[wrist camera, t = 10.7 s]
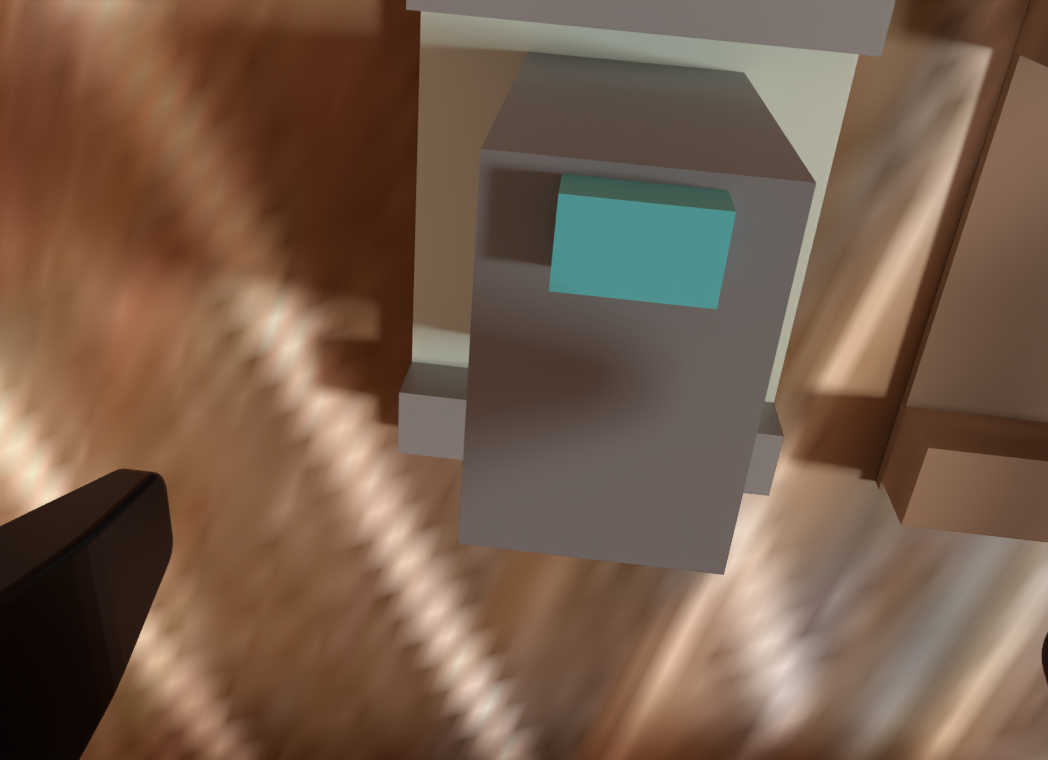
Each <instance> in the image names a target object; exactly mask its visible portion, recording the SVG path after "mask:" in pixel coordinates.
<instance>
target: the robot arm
mask: <svg viewBox="0 0 1048 760" xmlns="http://www.w3.org/2000/svg"><path fill="white" fill-rule="evenodd" d="M172 548H173V533H172V526H171V518H170V510H169V503H168V495H167V488H166V484H165V481H164V479H163V477H162V476H161V475H159V474H158V473H156V472H150V471H141V470H133V469H118V470H116V471H114V472H111V473H109V474H107V475H105V476H103V477H101V478H99V479H97V480H95V481H93V482H91V483H89V484H87V485H84V486H82V487H80V488H78V489H76V490H74V491H72V492H70V493H68V494H66V495H64V496H62V497H60V498H58V499H55V500H53V501H51V502H49V503H47V504H45V505H43V506H41V507H39V508H37V509H35V510H33V511H31V512H28V513H26V514H24V515H22V516H20V517H18V518H16V519H14V520H12V521H10V522H8V523H6V524H4V525H1V526H0V760H79V759H80V757H81V756H82V754H83V752H84V750H85V748H86V746H87V745H88V743H89V741H90V739H91V737H92V735H93V734H94V732H95V730H96V728H97V726H98V724H99V723H100V721H101V719H102V717H103V715H104V713H105V711H106V710H107V708H108V706H109V704H110V702H111V700H112V698H113V696H114V694H115V692H116V690H117V687H118V685H119V683H120V681H121V678H122V676H123V674H124V672H125V669H126V667H127V664H128V662H129V659H130V657H131V654H132V652H133V650H134V647H135V645H136V642H137V640H138V637H139V635H140V632H141V630H142V627H143V625H144V623H145V620H146V618H147V615H148V613H149V610H150V608H151V605H152V603H153V601H154V598H155V596H156V593H157V591H158V588H159V586H160V583H161V581H162V578H163V576H164V574H165V571H166V569H167V566H168V564H169V561H170V558H171V554H172ZM1042 665H1043V670H1044V674H1045V677H1046V681H1047V685H1048V633H1047V635H1046V637H1045V640H1044V643H1043V647H1042Z"/></svg>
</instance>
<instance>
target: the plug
mask: <svg viewBox="0 0 1048 760" xmlns="http://www.w3.org/2000/svg"><path fill="white" fill-rule="evenodd" d="M815 187H816V182H815V180H814V178H813V177H812V175H811V174H810V172H809V171H808V169H807V168H806V166H805V165H804V163H803V162H802V160H801V159H800V157H799V155H798V154H797V152H796V151H795V149H794V148H793V146H792V145H791V143H790V142H789V140H788V139H787V137H786V136H785V134H784V133H783V131H782V129H781V128H780V126H779V125H778V123H777V122H776V120H775V119H774V117H773V116H772V114H771V113H770V111H769V110H768V108H767V107H766V105H765V103H764V102H763V100H762V99H761V97H760V96H759V94H758V93H757V91H756V90H755V88H754V87H753V85H752V84H751V82H750V80H749V79H748V77H747V76H746V74H745V73H744V72H733V71H723V70H713V69H703V68H692V67H682V66H672V65H662V64H651V63H641V62H631V61H621V60H611V59H600V58H590V57H580V56H570V55H559V54H549V53H539V52H529V51H528V53H527V55H526V58H525V60H524V62H523V64H522V66H521V68H520V70H519V72H518V74H517V76H516V78H515V80H514V82H513V84H512V86H511V88H510V90H509V92H508V94H507V96H506V98H505V100H504V102H503V104H502V106H501V108H500V110H499V112H498V114H497V116H496V118H495V121H494V123H493V125H492V127H491V129H490V131H489V133H488V135H487V137H486V139H485V141H484V143H483V145H482V147H481V151H480V169H479V187H478V204H477V222H476V240H475V257H474V275H473V293H472V310H471V328H470V346H469V363H468V381H467V399H466V416H465V434H464V452H463V469H462V487H461V505H460V522H459V540H458V543H459V544H467V545H476V546H484V547H493V548H501V549H510V550H518V551H527V552H535V553H544V554H552V555H560V556H569V557H577V558H586V559H594V560H603V561H611V562H620V563H628V564H637V565H645V566H654V567H662V568H671V569H679V570H688V571H696V572H704V573H713V574H721V575H724V572H725V567H726V563H727V559H728V555H729V550H730V546H731V542H732V538H733V534H734V529H735V525H736V521H737V517H738V512H739V508H740V504H741V500H742V495H743V491H744V487H745V483H746V479H747V474H748V470H749V466H750V462H751V457H752V453H753V449H754V445H755V440H756V436H757V432H758V428H759V424H760V419H761V415H762V411H763V407H764V402H765V398H766V394H767V390H768V385H769V381H770V377H771V373H772V369H773V364H774V360H775V356H776V352H777V347H778V343H779V339H780V335H781V330H782V326H783V322H784V318H785V314H786V309H787V305H788V301H789V297H790V292H791V288H792V284H793V280H794V275H795V271H796V267H797V263H798V259H799V254H800V250H801V246H802V242H803V237H804V233H805V229H806V225H807V221H808V216H809V212H810V208H811V204H812V199H813V195H814V191H815Z"/></svg>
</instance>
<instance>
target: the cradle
mask: <svg viewBox="0 0 1048 760" xmlns="http://www.w3.org/2000/svg"><path fill="white" fill-rule="evenodd" d="M894 4H895V0H406V10H415V11H421V28H420V67H419V106H418V144H417V183H416V222H415V261H414V300H413V339H412V363H411V365H410V367H409V370H408V372H407V375H406V377H405V379H404V382H403V384H402V387H401V389H400V391H399V422H398V453H406V454H415V455H423V456H432V457H441V458H449V459H458V460H463V452H464V434H465V416H466V399H467V381H468V363H469V346H470V328H471V310H472V293H473V275H474V257H475V240H476V222H477V204H478V187H479V169H480V151H481V147H482V145H483V143H484V141H485V139H486V137H487V135H488V133H489V131H490V129H491V127H492V125H493V123H494V121H495V118H496V116H497V114H498V112H499V110H500V108H501V106H502V104H503V102H504V100H505V98H506V96H507V94H508V92H509V90H510V88H511V86H512V84H513V82H514V80H515V78H516V76H517V74H518V72H519V70H520V68H521V66H522V64H523V62H524V60H525V58H526V55H527V53H528V51H529V52H539V53H549V54H559V55H570V56H580V57H590V58H600V59H611V60H621V61H631V62H641V63H651V64H662V65H672V66H682V67H692V68H703V69H713V70H723V71H733V72H744V73H745V74H746V76H747V77H748V79H749V80H750V82H751V84H752V85H753V87H754V88H755V90H756V91H757V93H758V94H759V96H760V97H761V99H762V100H763V102H764V103H765V105H766V107H767V108H768V110H769V111H770V113H771V114H772V116H773V117H774V119H775V120H776V122H777V123H778V125H779V126H780V128H781V129H782V131H783V133H784V134H785V136H786V137H787V139H788V140H789V142H790V143H791V145H792V146H793V148H794V149H795V151H796V152H797V154H798V155H799V157H800V159H801V160H802V162H803V163H804V165H805V166H806V168H807V169H808V171H809V172H810V174H811V175H812V177H813V178H814V180H815V182H816V187H815V191H814V195H813V199H812V204H811V208H810V212H809V216H808V221H807V225H806V229H805V233H804V237H803V242H802V246H801V250H800V254H799V259H798V263H797V267H796V271H795V275H794V280H793V284H792V288H791V292H790V297H789V301H788V305H787V309H786V314H785V318H784V322H783V326H782V330H781V335H780V339H779V343H778V347H777V352H776V356H775V360H774V364H773V369H772V373H771V377H770V381H769V385H768V390H767V394H766V398H765V402H764V407H763V411H762V415H761V419H760V424H759V428H758V432H757V436H756V440H755V445H754V449H753V453H752V457H751V462H750V466H749V470H748V474H747V479H746V483H745V487H744V491H743V493H750V494H758V495H767V496H769V493H770V489H771V485H772V481H773V477H774V473H775V469H776V465H777V461H778V457H779V454H780V450H781V446H782V442H783V438H784V435H783V432H782V428H781V425H780V422H779V418H778V415H777V412H776V409H775V405H774V399H775V395H776V391H777V387H778V383H779V379H780V375H781V371H782V367H783V362H784V358H785V354H786V350H787V346H788V342H789V338H790V334H791V330H792V326H793V322H794V317H795V313H796V309H797V305H798V301H799V297H800V293H801V289H802V285H803V281H804V277H805V273H806V268H807V264H808V260H809V256H810V252H811V248H812V244H813V240H814V236H815V232H816V228H817V223H818V219H819V215H820V211H821V207H822V203H823V199H824V195H825V191H826V187H827V183H828V178H829V174H830V170H831V166H832V162H833V158H834V154H835V150H836V146H837V142H838V138H839V134H840V129H841V125H842V121H843V117H844V113H845V109H846V105H847V101H848V97H849V93H850V89H851V84H852V80H853V76H854V72H855V68H856V64H857V60H858V56H859V54H860V55H870V56H880V57H881V55H882V51H883V47H884V43H885V39H886V35H887V32H888V28H889V24H890V20H891V16H892V12H893V8H894Z"/></svg>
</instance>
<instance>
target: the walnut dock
mask: <svg viewBox="0 0 1048 760" xmlns="http://www.w3.org/2000/svg"><path fill="white" fill-rule="evenodd" d="M876 484H877V486H878V488H879V489H881V490H886V491H887V493H888V496H889V498H890V500H891V503H892V505H893V507H894V509H895V512H896V514H897V516H898V518H899V521H900V523H901V525H904V526H912V527H921V528H929V529H938V530H946V531H955V532H963V533H972V534H980V535H989V536H998V537H1006V538H1015V539H1023V540H1032V541H1040V542H1048V0H1031V1H1030V4H1029V7H1028V10H1027V13H1026V16H1025V19H1024V22H1023V26H1022V29H1021V32H1020V35H1019V38H1018V41H1017V44H1016V47H1015V50H1014V54H1013V57H1012V60H1011V63H1010V66H1009V69H1008V72H1007V75H1006V78H1005V82H1004V85H1003V88H1002V91H1001V94H1000V97H999V100H998V103H997V106H996V110H995V113H994V116H993V119H992V122H991V125H990V128H989V131H988V134H987V138H986V141H985V144H984V147H983V150H982V153H981V156H980V159H979V162H978V166H977V169H976V172H975V175H974V178H973V181H972V184H971V187H970V190H969V194H968V197H967V200H966V203H965V206H964V209H963V212H962V215H961V218H960V222H959V225H958V228H957V231H956V234H955V237H954V240H953V243H952V246H951V250H950V253H949V256H948V259H947V262H946V265H945V268H944V271H943V274H942V277H941V281H940V284H939V287H938V290H937V293H936V296H935V299H934V302H933V305H932V309H931V312H930V315H929V318H928V321H927V324H926V327H925V330H924V333H923V337H922V340H921V343H920V346H919V349H918V352H917V355H916V358H915V361H914V365H913V368H912V371H911V374H910V377H909V380H908V383H907V386H906V389H905V393H904V396H903V399H902V402H901V405H900V408H899V411H898V414H897V417H896V421H895V424H894V427H893V430H892V433H891V436H890V439H889V442H888V445H887V449H886V452H885V455H884V458H883V461H882V464H881V467H880V470H879V473H878V477H877V480H876Z"/></svg>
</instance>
